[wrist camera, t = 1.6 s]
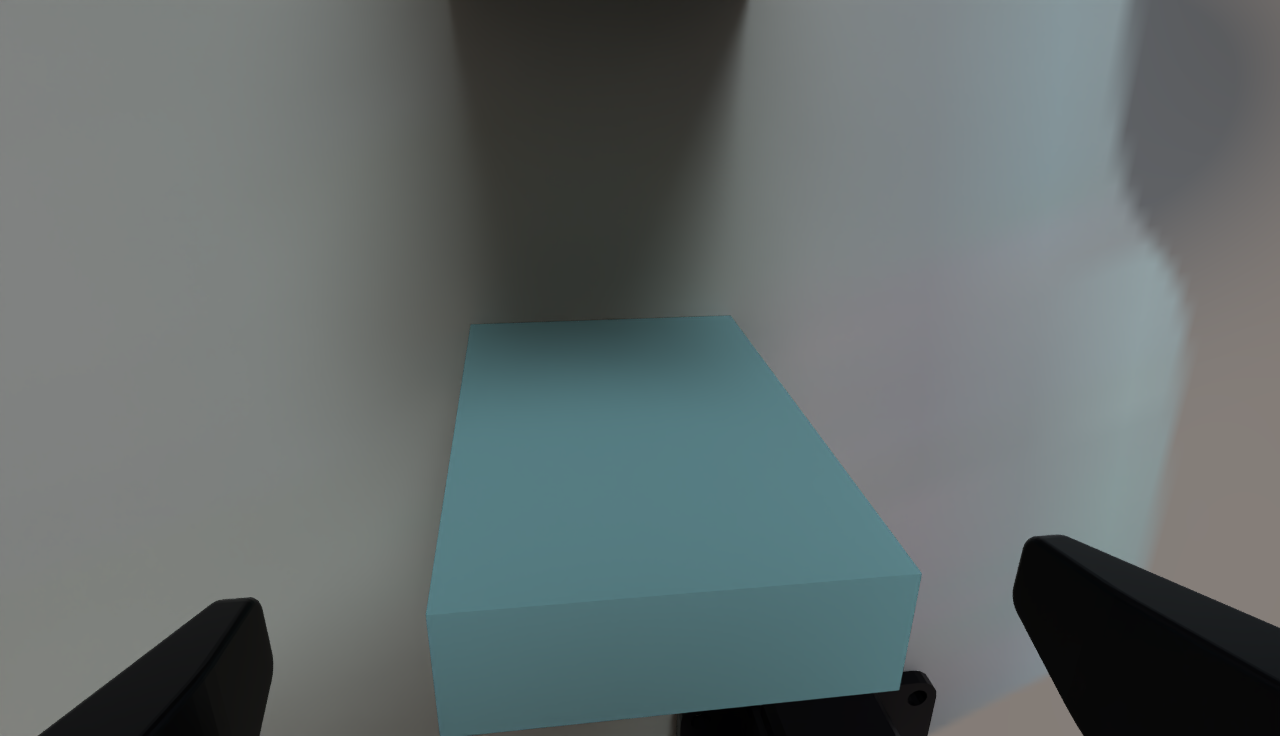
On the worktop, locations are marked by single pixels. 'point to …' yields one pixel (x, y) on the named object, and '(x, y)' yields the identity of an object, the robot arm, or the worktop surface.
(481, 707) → the teal domino
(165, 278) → the worktop surface
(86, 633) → the worktop surface
